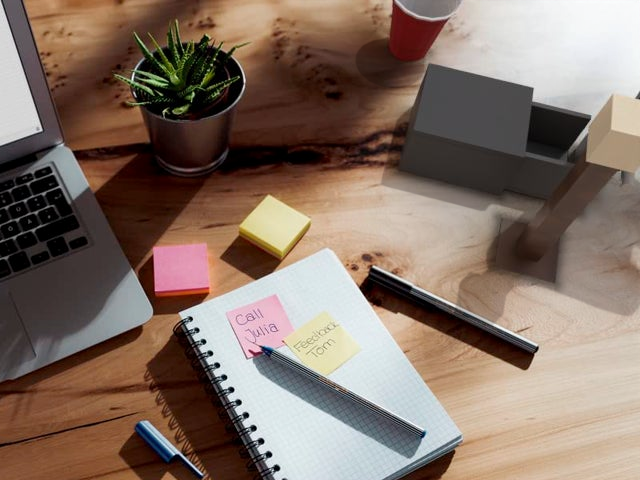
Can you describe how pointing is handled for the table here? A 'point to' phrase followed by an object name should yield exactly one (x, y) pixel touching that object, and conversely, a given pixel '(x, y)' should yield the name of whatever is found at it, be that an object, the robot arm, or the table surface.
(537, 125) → the drawer
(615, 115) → the block
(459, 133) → the cabinet
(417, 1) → the plastic cup
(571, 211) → the stand
